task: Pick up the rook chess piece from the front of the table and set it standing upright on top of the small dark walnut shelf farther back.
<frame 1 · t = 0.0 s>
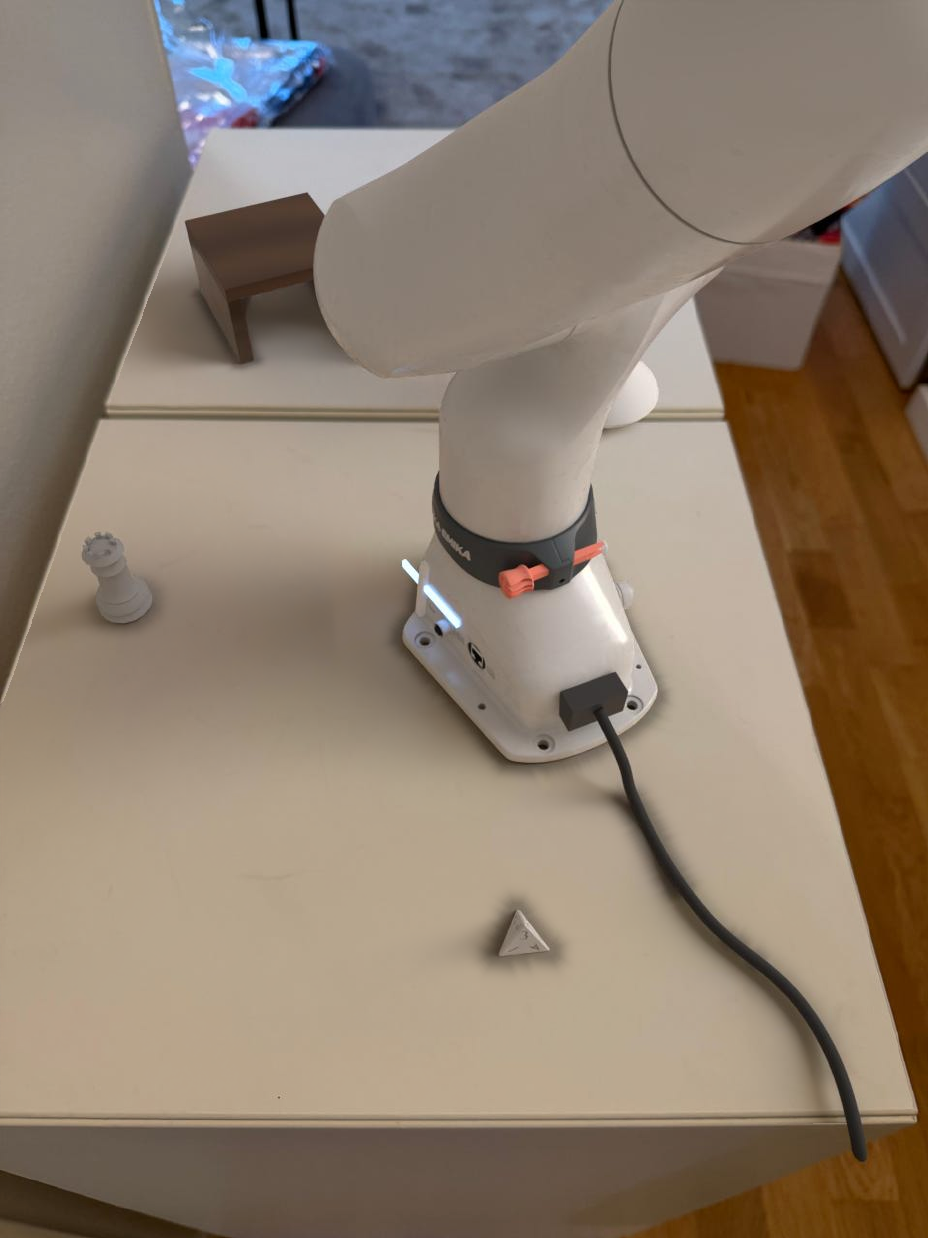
athletic shoe: (432, 294, 107), on the cabinet top
tetrahedral die: (528, 942, 62), on the cabinet top
rook chess piece: (127, 607, 79), on the cabinet top
shelf: (280, 311, 104), on the cabinet top
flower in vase: (599, 397, 96), on the cabinet top
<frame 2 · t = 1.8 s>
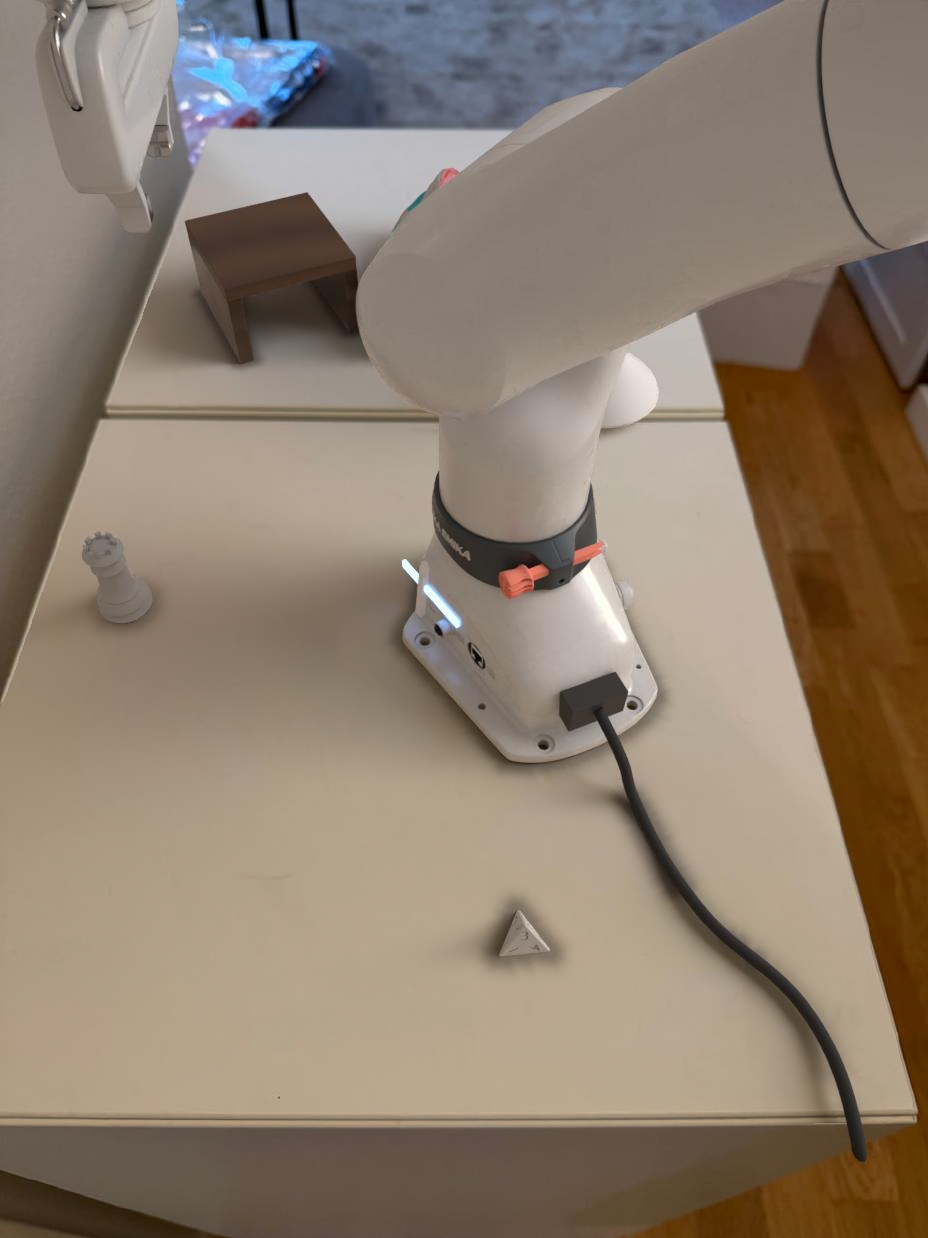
hand: (150, 187, 61), 31 cm above the cabinet top, tool pointing down, fingers open, 8 cm apart
nothing on the cabinet top moved.
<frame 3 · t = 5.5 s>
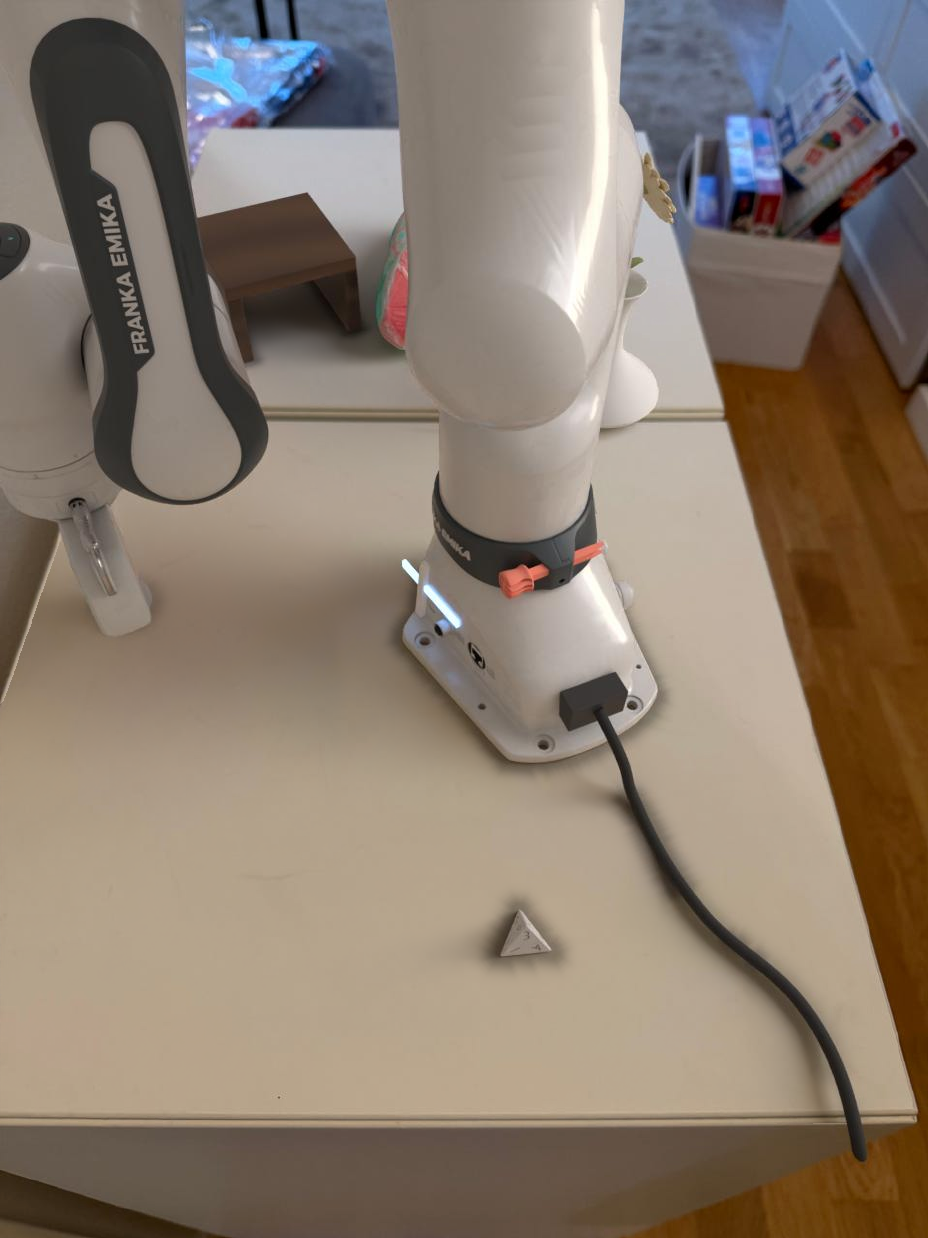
hand: (117, 582, 76), 3 cm above the cabinet top, tool pointing down, fingers closed on rook chess piece, 3 cm apart
rook chess piece: (127, 607, 79), on the cabinet top, touching gripper
everything else where it was.
when the fingers open (12 cm above the cabinet top, at t = 12.9 s): rook chess piece stays where it is, resting on shelf.
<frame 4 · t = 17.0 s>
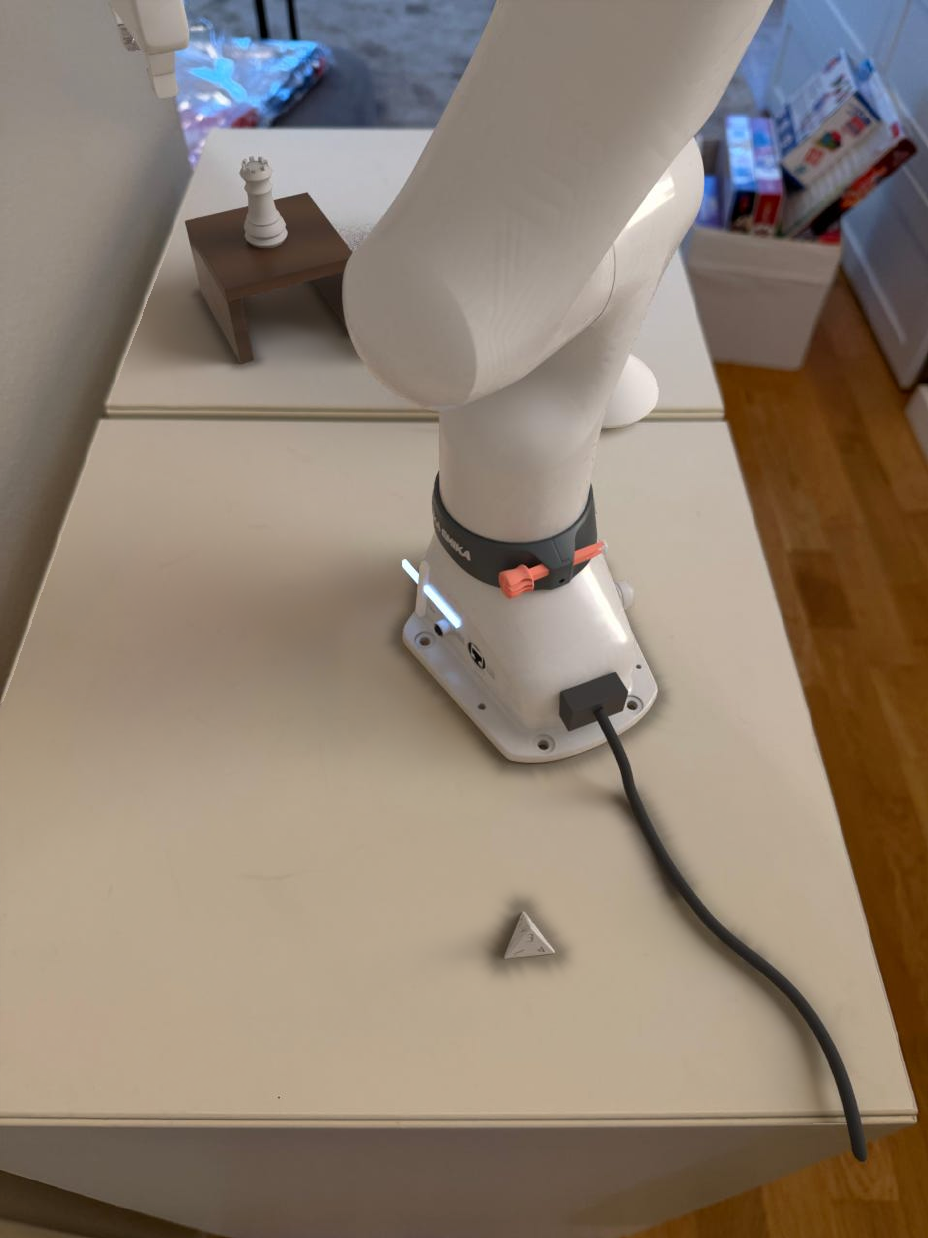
hand: (149, 69, 75), 29 cm above the cabinet top, tool pointing down, fingers open, 8 cm apart
rook chess piece: (267, 239, 97), point 9 cm above the cabinet top, touching shelf
everything else where it was.
at the end: rook chess piece inside the target area on the shelf (0.2 cm from its centre), point 8.8 cm above the shelf's base; rook chess piece tilted 0° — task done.
